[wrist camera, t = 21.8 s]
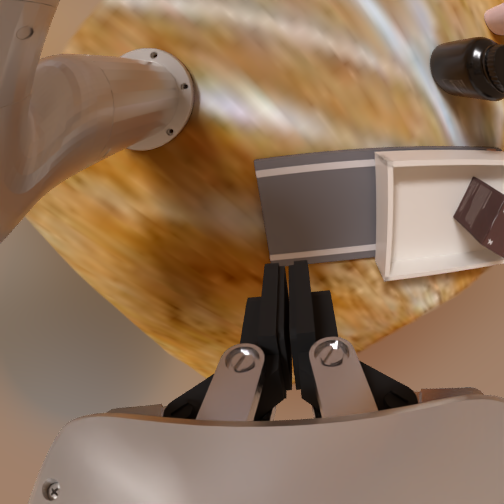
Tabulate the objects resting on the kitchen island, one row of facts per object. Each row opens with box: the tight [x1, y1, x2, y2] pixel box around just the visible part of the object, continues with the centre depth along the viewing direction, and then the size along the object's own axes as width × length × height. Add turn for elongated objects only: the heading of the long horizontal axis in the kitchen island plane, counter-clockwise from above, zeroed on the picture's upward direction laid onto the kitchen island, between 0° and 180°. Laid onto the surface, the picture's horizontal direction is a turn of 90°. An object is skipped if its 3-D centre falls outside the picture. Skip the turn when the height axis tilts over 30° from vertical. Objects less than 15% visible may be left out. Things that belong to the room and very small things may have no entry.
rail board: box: [254, 146, 502, 266], centre depth 35 cm, size 33×14×1 cm, turn 100°
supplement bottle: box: [430, 37, 504, 101], centre depth 21 cm, size 7×7×12 cm
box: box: [453, 176, 504, 258], centre depth 27 cm, size 6×6×7 cm
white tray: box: [375, 150, 504, 281], centre depth 31 cm, size 20×14×5 cm
